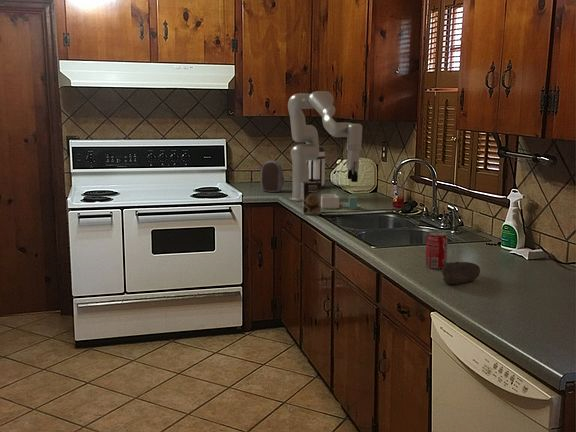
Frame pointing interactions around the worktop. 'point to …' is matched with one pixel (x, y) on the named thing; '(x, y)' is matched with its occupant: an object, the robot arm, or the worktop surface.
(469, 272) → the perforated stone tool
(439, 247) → the soda can
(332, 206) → the tub
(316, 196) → the coffee box
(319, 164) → the coffee press
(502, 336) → the worktop surface
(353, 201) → the lid
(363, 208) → the mat
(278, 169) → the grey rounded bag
